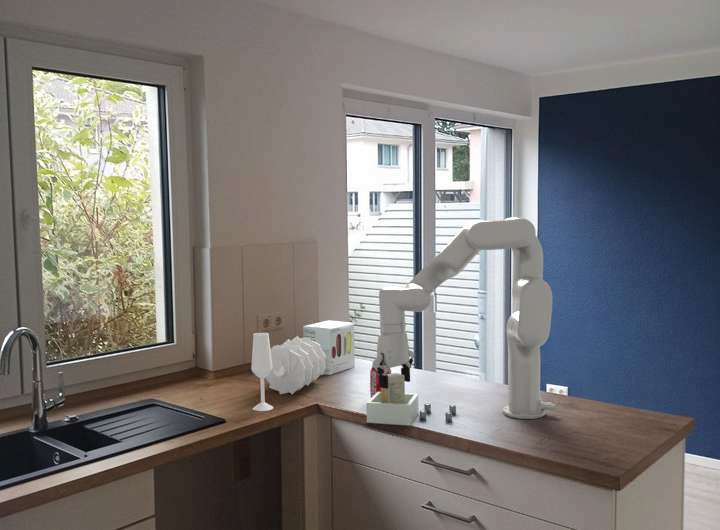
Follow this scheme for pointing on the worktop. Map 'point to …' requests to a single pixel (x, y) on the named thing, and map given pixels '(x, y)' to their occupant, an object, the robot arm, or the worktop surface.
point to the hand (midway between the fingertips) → (395, 384)
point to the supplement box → (334, 344)
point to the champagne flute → (261, 365)
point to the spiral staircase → (295, 364)
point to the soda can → (375, 381)
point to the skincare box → (394, 389)
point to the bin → (392, 410)
